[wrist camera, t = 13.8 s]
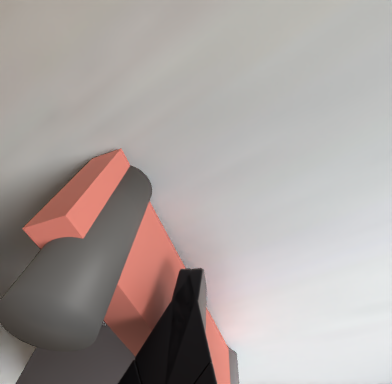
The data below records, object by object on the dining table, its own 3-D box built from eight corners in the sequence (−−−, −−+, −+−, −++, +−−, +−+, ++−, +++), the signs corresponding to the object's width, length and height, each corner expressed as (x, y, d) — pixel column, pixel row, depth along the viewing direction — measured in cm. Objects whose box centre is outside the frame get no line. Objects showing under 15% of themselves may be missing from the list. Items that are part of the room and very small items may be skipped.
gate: (241, 360, 16) (254, 496, 11) (211, 364, 16) (211, 497, 12) (131, 144, 9) (41, 262, 4) (83, 161, 9) (-48, 286, 5)
